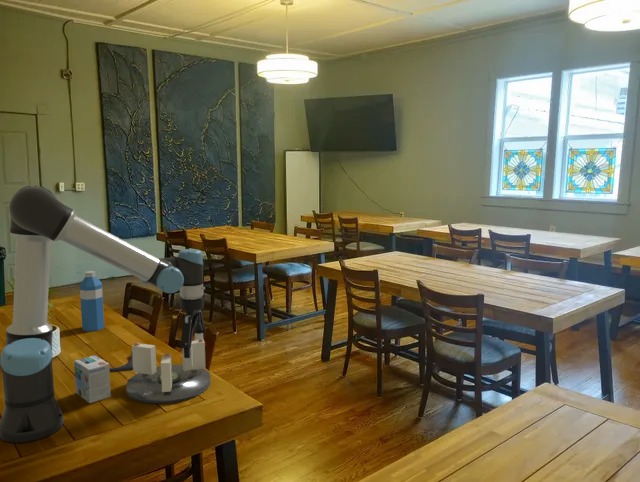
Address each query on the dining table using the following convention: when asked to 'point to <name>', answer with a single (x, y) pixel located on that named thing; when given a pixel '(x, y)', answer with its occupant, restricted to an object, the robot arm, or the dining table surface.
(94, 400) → the light bulb box
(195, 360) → the beige upright box
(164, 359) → the white block with knob
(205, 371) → the plate
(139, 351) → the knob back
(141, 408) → the dining table surface
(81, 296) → the water bottle
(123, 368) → the bracket
